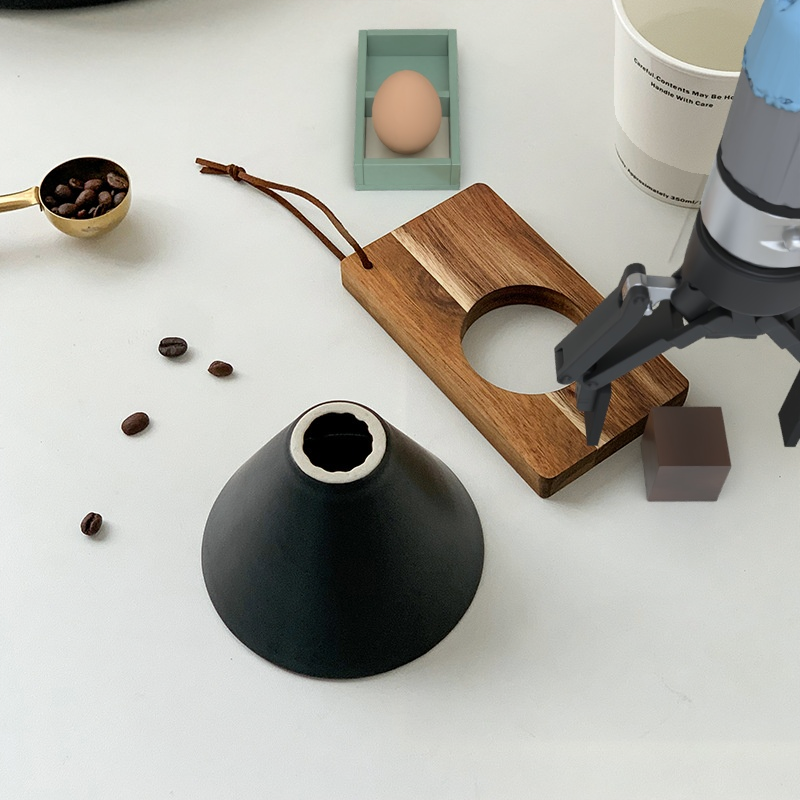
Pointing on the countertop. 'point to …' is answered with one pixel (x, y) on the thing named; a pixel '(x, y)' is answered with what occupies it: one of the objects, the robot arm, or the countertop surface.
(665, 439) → the walnut block
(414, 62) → the sorting tray
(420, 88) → the egg
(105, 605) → the countertop surface
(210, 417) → the countertop surface
